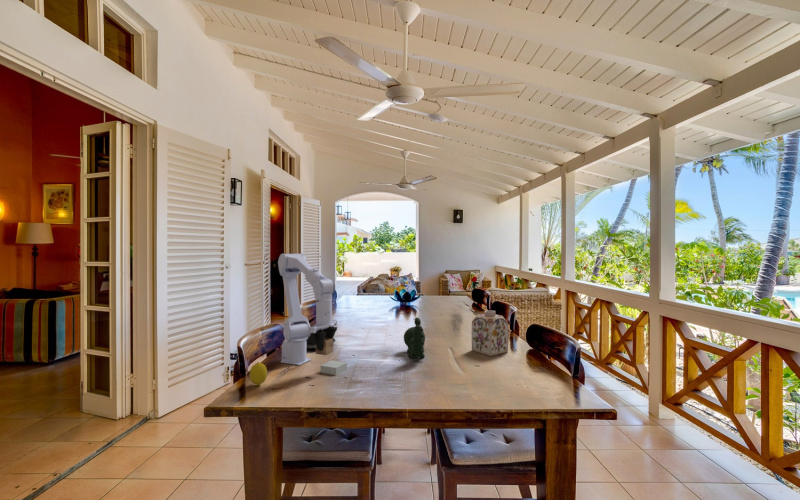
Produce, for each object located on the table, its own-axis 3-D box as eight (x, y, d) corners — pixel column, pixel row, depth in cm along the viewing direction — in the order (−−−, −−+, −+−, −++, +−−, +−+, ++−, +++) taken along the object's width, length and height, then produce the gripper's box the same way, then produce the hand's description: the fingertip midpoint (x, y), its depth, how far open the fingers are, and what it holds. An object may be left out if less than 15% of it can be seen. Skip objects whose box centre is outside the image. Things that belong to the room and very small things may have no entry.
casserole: (303, 338, 197) (303, 321, 197) (340, 338, 197) (340, 322, 197) (287, 352, 172) (287, 333, 172) (329, 352, 172) (329, 333, 172)
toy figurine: (430, 367, 156) (422, 345, 180) (430, 321, 154) (423, 305, 178) (406, 368, 155) (402, 346, 180) (407, 321, 153) (402, 306, 178)
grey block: (320, 373, 145) (320, 365, 145) (331, 368, 151) (331, 360, 151) (336, 376, 142) (336, 368, 142) (346, 370, 148) (346, 362, 148)
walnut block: (315, 353, 142) (315, 340, 142) (322, 350, 146) (322, 337, 146) (326, 355, 141) (326, 341, 140) (332, 352, 145) (333, 338, 145)
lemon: (250, 389, 128) (250, 365, 127) (248, 384, 132) (248, 361, 132) (268, 387, 130) (268, 363, 130) (265, 381, 135) (265, 358, 135)
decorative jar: (509, 352, 171) (509, 311, 171) (490, 356, 165) (490, 314, 165) (488, 346, 181) (488, 308, 181) (470, 350, 175) (470, 310, 174)
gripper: (321, 315, 135) (321, 354, 135) (344, 309, 148) (344, 344, 149) (304, 314, 138) (305, 352, 138) (328, 308, 151) (328, 343, 151)
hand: (324, 348), depth 144 cm, fingers closed on walnut block, 4 cm apart
